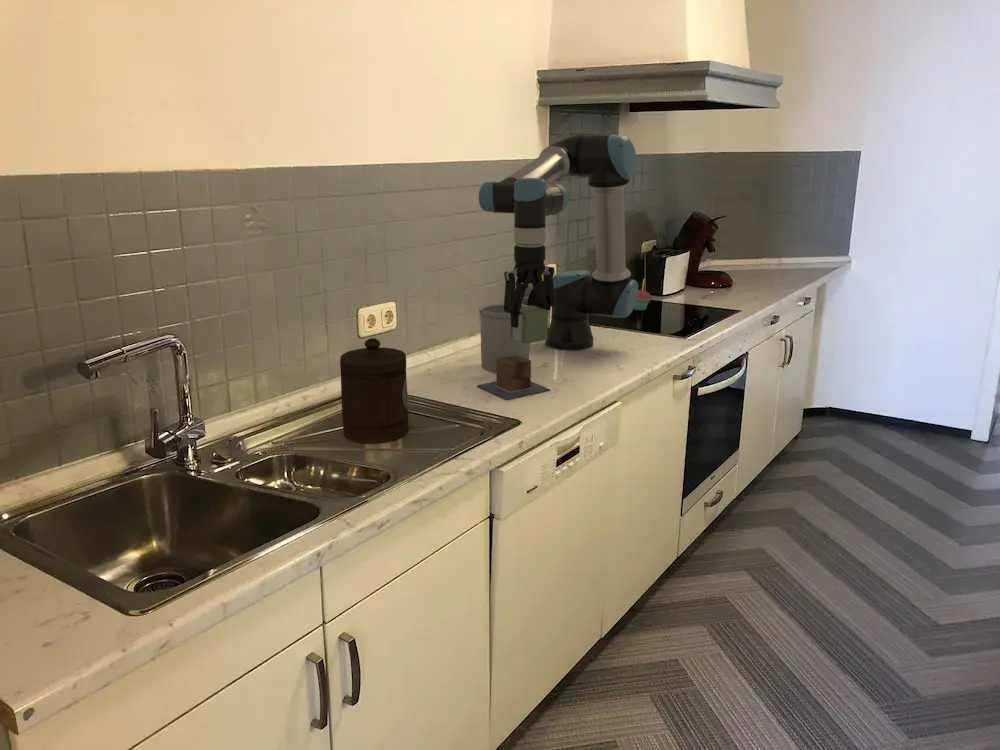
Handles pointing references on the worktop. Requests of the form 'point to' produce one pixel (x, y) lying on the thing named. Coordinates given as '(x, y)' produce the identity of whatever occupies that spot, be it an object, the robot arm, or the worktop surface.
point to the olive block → (533, 324)
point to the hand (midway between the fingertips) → (529, 337)
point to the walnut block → (513, 373)
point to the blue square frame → (508, 395)
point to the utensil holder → (498, 336)
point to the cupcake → (642, 299)
